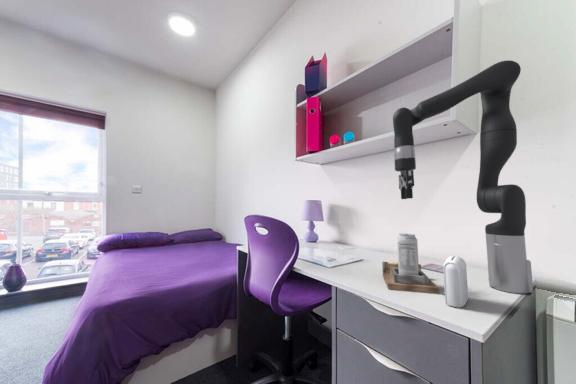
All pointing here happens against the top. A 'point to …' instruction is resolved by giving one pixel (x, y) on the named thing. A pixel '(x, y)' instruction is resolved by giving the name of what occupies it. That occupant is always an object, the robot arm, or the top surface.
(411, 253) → the energy drink can
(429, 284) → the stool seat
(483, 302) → the top surface
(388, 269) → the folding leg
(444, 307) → the top surface
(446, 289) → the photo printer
